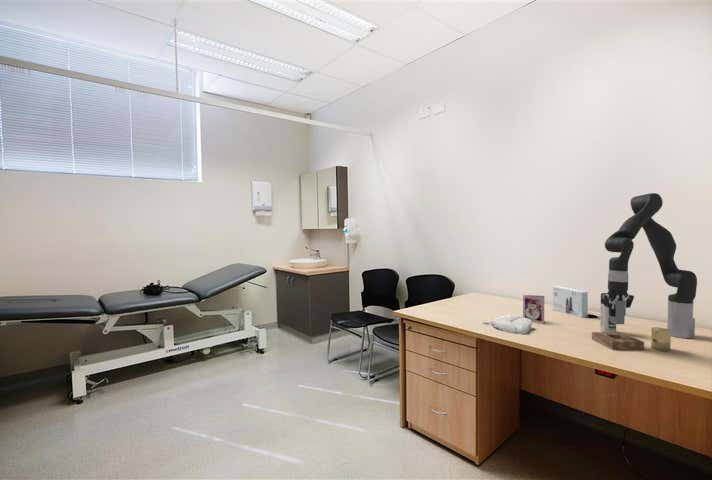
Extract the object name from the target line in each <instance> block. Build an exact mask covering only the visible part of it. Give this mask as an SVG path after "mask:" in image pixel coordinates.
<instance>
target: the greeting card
mask: <svg viewBox="0 0 712 480" xmlns="http://www.w3.org/2000/svg"><path fill="white" fill-rule="evenodd" d="M522 297H523V298H522V301H523V302H522V317H524V318H528V319H530V320H531V321H532V323H535V324H541V325H544V324H545V323H544V322H545V295H531V294H527V295H526V294H523V296H522Z"/></svg>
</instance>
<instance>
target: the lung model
mask: <svg viewBox="0 0 712 480" xmlns="http://www.w3.org/2000/svg"><path fill="white" fill-rule="evenodd" d="M482 324H483V325H488V324H491V325H492V326H494V327H495V328H497V329H499V330H501V331H503V332H507V333H511V334H517V335H526V334H528V333H529V332H530V330H531V328H532V324H533V322H532V321H531V320H530V319H528V318H524V317H523V316H520V315H513V314H512V315H510V314H509V315H500V316H498V317H495V318H493V319H492V320H490V321H489V320H488V321H487V320H486V321H482Z"/></svg>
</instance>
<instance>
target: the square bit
mask: <svg viewBox="0 0 712 480" xmlns="http://www.w3.org/2000/svg"><path fill="white" fill-rule="evenodd" d="M611 301H612V300H611ZM625 301H626V300H625ZM625 301H622V300H617V301H616V304H615V307H614V309H615V311H614V317H611V316H610V318H609V322H611V323H613V324H616V325H625V320H626V319H625V317H626V315H625V313H626V312H625ZM612 302H614V301H612Z"/></svg>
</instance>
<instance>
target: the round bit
mask: <svg viewBox="0 0 712 480" xmlns="http://www.w3.org/2000/svg"><path fill="white" fill-rule="evenodd" d="M650 334H651V338H650V339H651V343H650V348H651V349H652V350H654V349H655V351H657V352H665V353H670V352H671V345H672V344H671V342H672V336H671V330H669V329H667V328H665V327H658V326H654V327H651V333H650Z"/></svg>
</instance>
